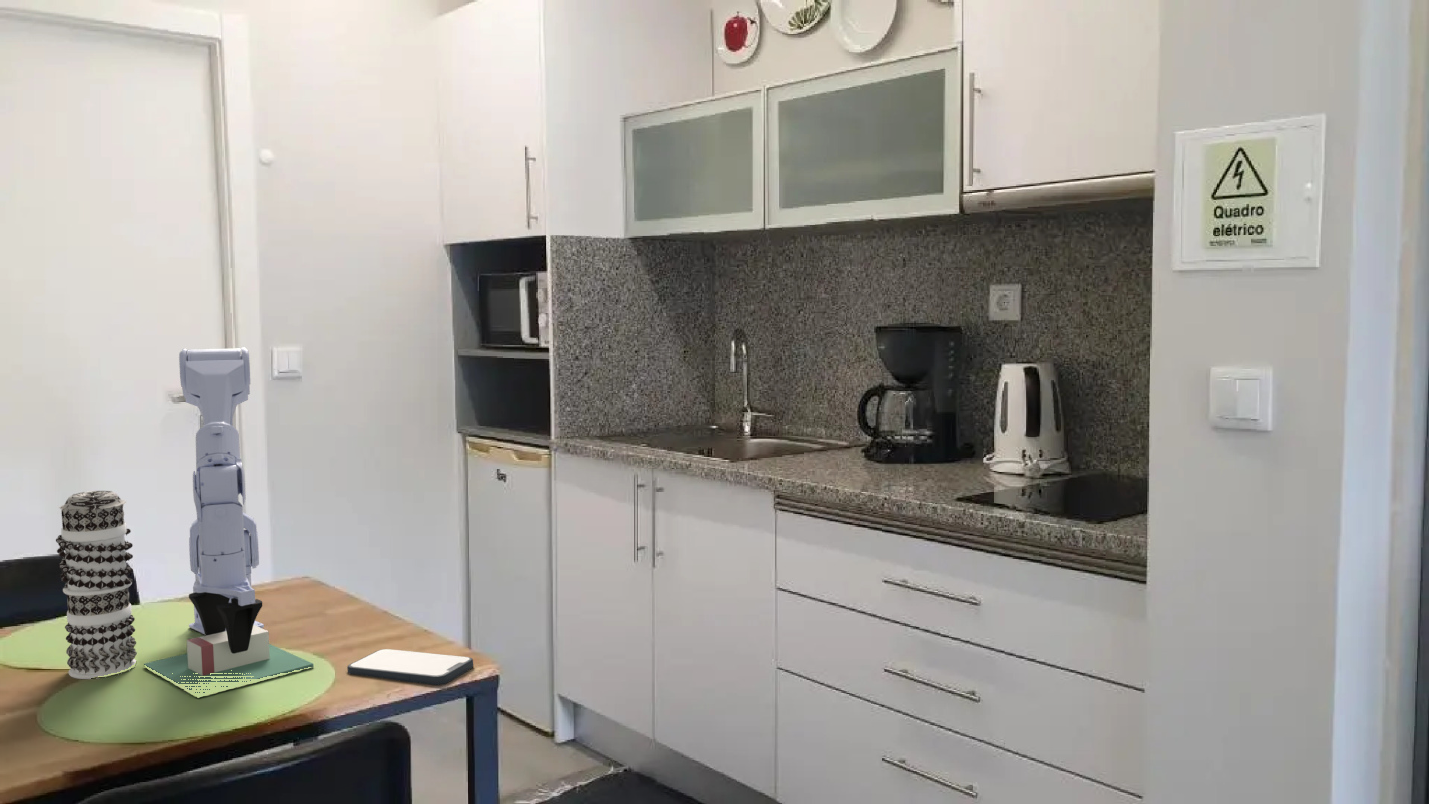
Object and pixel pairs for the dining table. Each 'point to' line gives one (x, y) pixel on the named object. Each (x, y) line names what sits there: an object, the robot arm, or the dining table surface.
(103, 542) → the decorative candle
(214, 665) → the card deck
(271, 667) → the card mat
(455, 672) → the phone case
